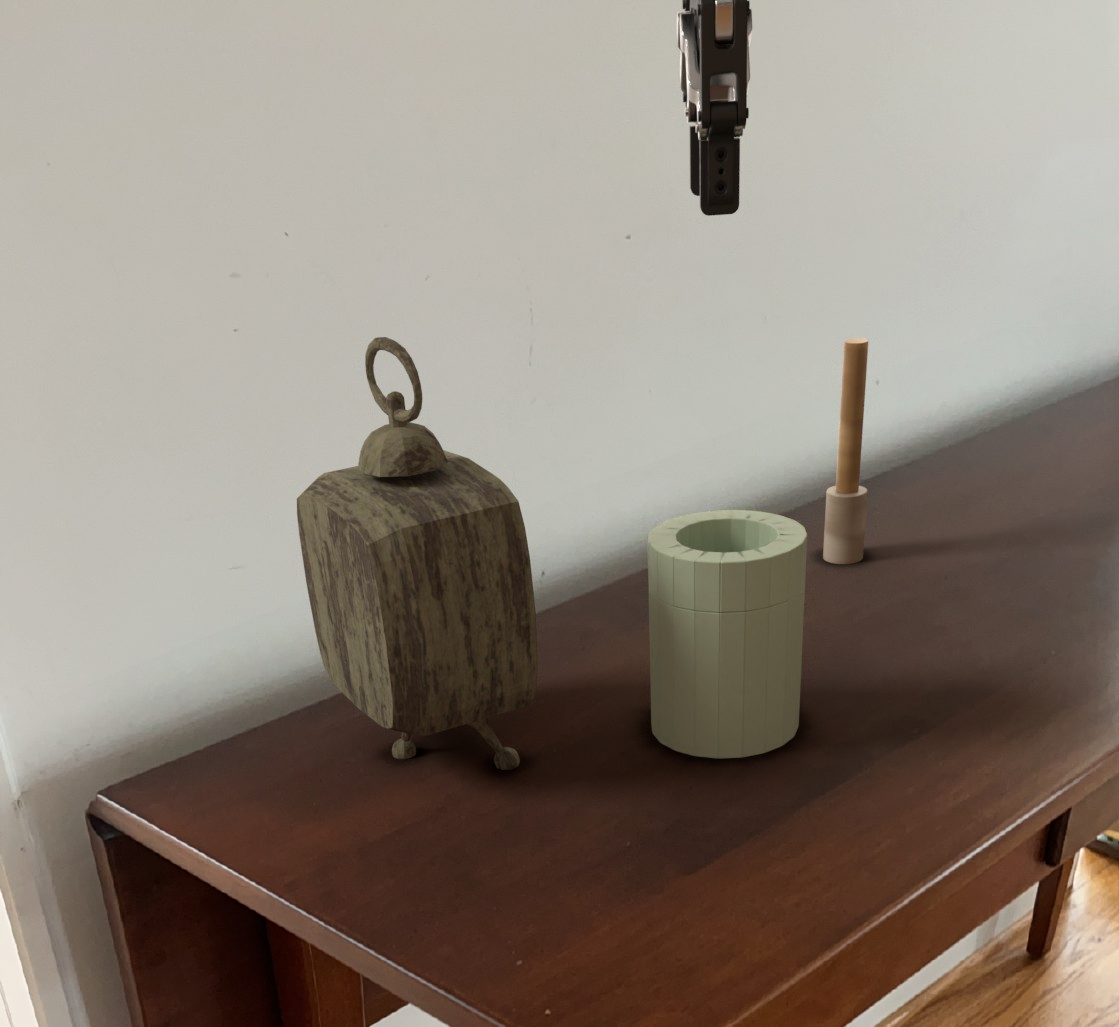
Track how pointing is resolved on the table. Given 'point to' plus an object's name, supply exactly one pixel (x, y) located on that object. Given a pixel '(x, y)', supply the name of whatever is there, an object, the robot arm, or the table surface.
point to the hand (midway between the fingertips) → (713, 203)
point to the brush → (848, 464)
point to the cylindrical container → (726, 631)
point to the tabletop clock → (420, 581)
